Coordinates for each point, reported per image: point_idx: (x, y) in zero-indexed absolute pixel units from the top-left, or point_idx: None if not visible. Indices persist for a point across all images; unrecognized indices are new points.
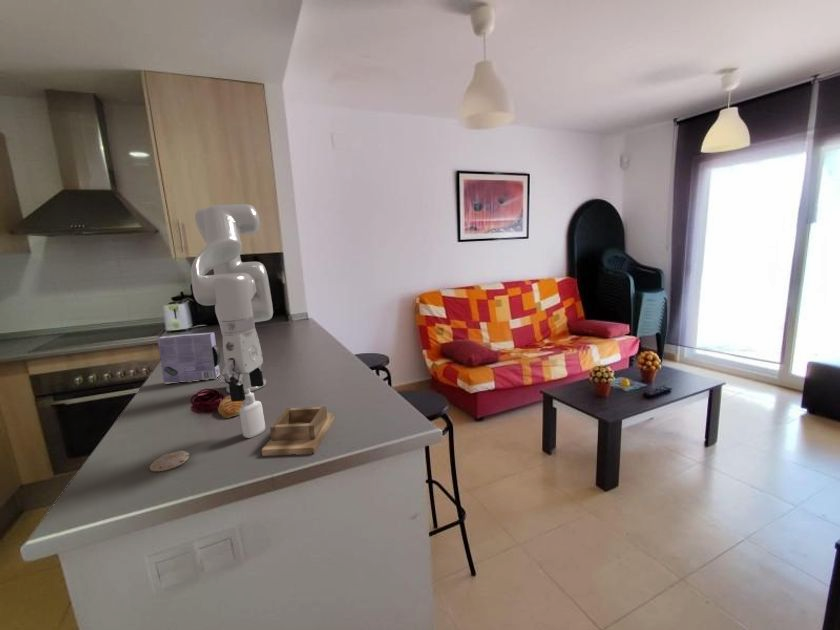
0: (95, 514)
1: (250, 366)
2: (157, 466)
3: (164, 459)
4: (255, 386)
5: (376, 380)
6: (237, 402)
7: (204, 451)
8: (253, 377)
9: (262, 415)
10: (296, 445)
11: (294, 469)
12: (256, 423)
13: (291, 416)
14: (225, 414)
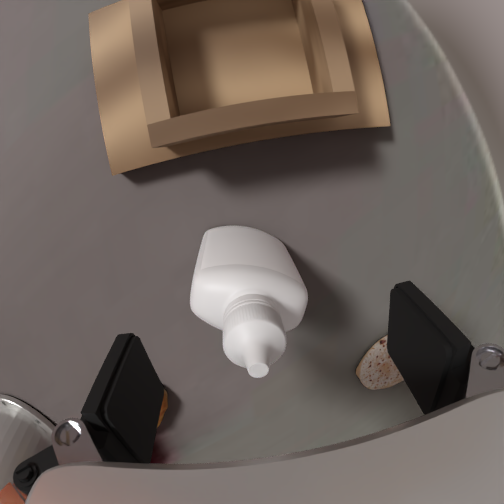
0: (501, 327)
1: (458, 476)
2: None
3: (393, 373)
4: (151, 370)
5: None
6: None
7: (356, 324)
8: (143, 421)
9: (214, 246)
10: (351, 20)
11: (416, 14)
12: (258, 242)
13: (176, 116)
14: (167, 405)
